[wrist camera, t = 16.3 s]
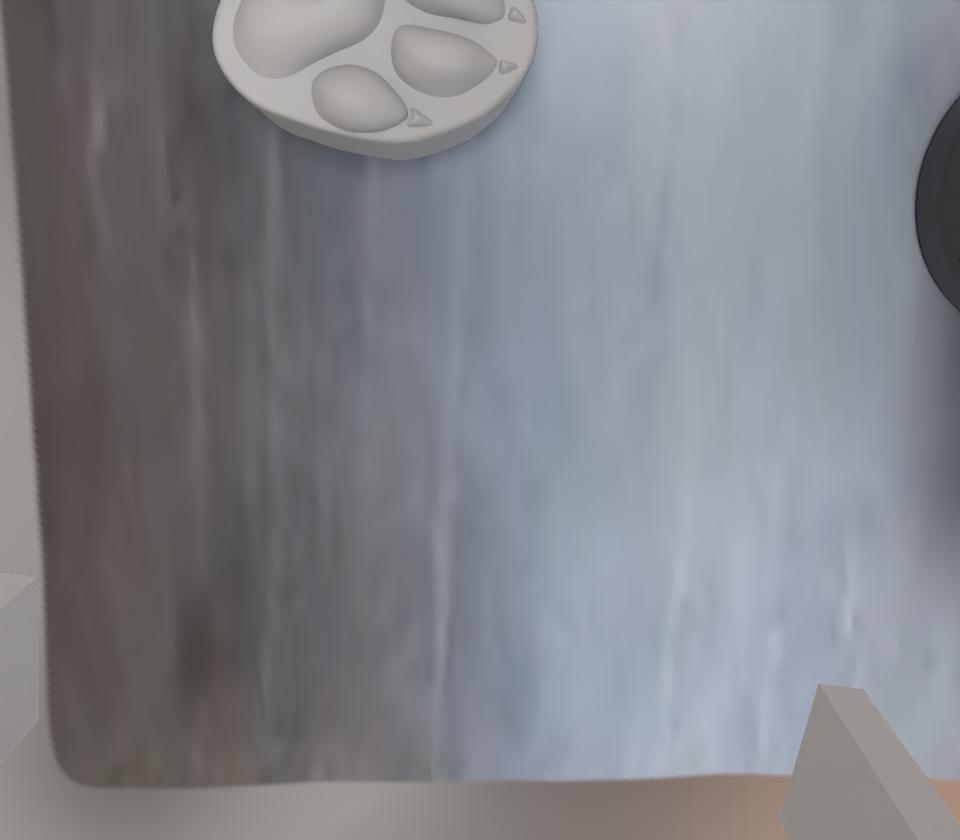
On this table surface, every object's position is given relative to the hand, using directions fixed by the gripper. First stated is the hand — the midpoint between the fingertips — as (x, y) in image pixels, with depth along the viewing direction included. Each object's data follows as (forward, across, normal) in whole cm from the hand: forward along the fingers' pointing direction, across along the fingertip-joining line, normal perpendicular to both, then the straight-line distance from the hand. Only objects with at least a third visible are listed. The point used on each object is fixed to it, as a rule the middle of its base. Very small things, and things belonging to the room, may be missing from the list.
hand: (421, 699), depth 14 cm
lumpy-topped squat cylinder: (+32, -6, +14) cm, 35 cm away
